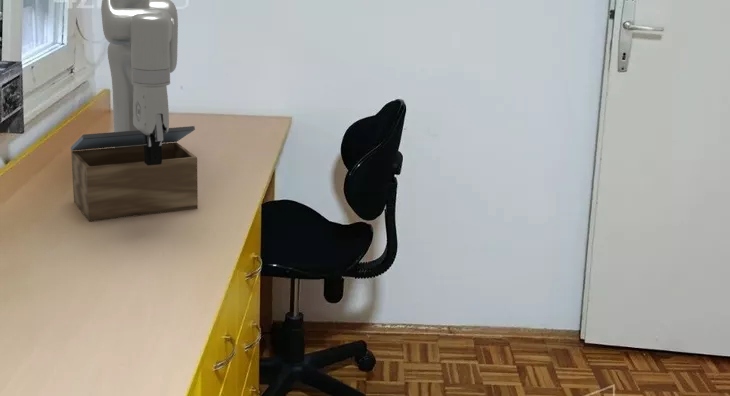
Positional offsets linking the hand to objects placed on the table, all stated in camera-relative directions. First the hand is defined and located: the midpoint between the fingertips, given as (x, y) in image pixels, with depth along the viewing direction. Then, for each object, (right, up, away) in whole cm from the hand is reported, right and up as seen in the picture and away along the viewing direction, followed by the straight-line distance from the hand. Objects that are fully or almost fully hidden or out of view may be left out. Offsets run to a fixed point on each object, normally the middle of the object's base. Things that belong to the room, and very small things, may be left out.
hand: (153, 163), depth 184 cm
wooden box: (-8, -9, +15) cm, 19 cm away
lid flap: (-7, +6, +11) cm, 15 cm away
